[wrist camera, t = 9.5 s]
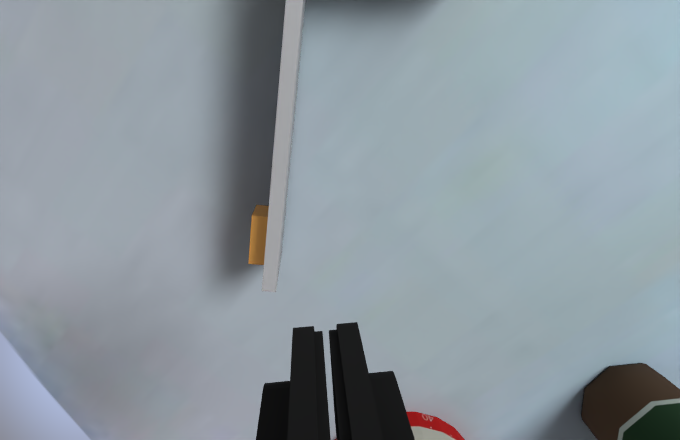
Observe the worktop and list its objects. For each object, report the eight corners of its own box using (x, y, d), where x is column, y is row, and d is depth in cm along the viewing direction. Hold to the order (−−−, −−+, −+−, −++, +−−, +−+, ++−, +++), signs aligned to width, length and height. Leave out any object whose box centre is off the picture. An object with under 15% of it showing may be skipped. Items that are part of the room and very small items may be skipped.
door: (309, -21, 25) (310, -57, 19) (283, 253, 30) (277, 294, 24) (277, -26, 25) (267, -64, 19) (256, 250, 30) (243, 291, 23)
